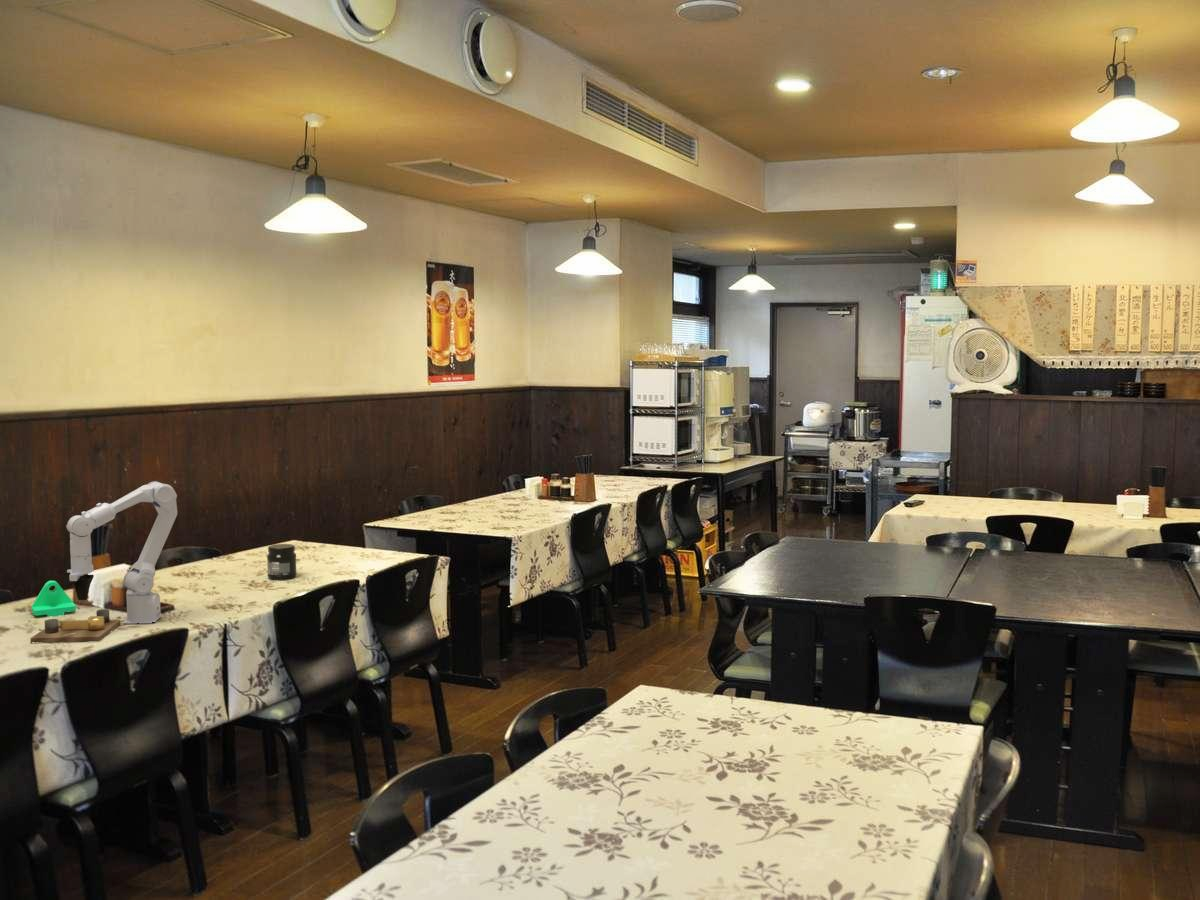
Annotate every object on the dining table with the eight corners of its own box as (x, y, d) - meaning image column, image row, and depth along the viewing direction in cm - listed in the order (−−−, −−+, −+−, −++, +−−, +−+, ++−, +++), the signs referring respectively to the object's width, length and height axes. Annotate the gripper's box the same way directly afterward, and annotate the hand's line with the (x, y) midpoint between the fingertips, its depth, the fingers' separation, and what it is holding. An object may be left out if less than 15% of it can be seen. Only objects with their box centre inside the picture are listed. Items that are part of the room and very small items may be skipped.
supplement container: (293, 573, 411) (293, 542, 410) (299, 579, 402) (298, 547, 400) (265, 576, 406) (264, 544, 405) (270, 581, 397) (269, 549, 396)
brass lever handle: (106, 626, 326) (106, 615, 326) (101, 630, 322) (101, 619, 322) (64, 627, 325) (63, 616, 325) (58, 631, 321) (58, 620, 320)
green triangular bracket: (34, 619, 342) (33, 587, 341) (31, 614, 348) (30, 582, 347) (76, 614, 349) (75, 582, 348) (72, 609, 355) (71, 578, 354)
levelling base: (120, 624, 335) (119, 608, 335) (99, 641, 316) (98, 624, 316) (56, 626, 333) (55, 610, 333) (30, 643, 314) (29, 626, 313)
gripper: (75, 551, 333) (77, 594, 335) (57, 560, 319) (59, 605, 320) (99, 550, 334) (101, 593, 336) (83, 560, 320) (84, 605, 321)
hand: (82, 599), depth 328 cm, fingers closed
